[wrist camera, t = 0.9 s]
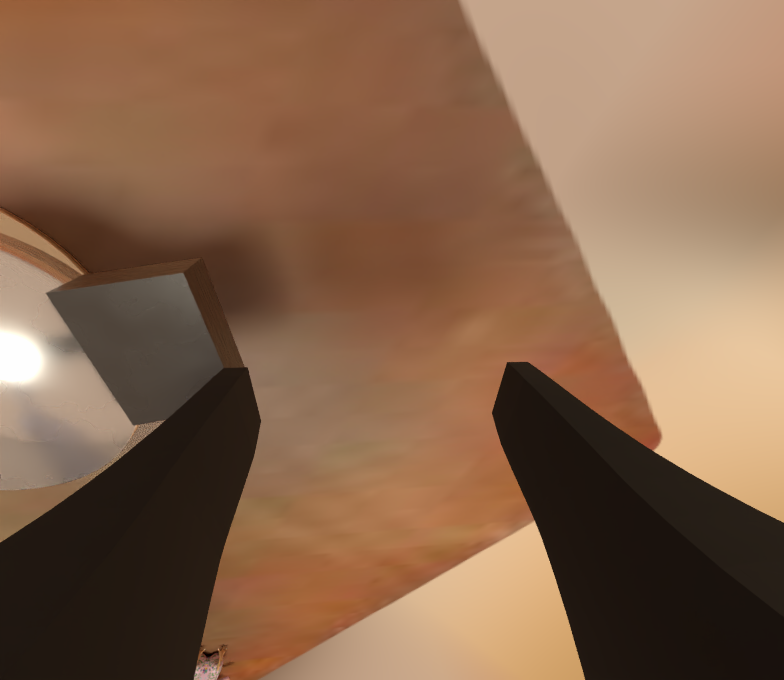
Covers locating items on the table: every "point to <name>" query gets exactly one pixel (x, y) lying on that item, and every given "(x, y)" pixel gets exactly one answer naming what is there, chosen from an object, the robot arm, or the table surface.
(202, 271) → the cooker lid
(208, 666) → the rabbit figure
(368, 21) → the table surface
